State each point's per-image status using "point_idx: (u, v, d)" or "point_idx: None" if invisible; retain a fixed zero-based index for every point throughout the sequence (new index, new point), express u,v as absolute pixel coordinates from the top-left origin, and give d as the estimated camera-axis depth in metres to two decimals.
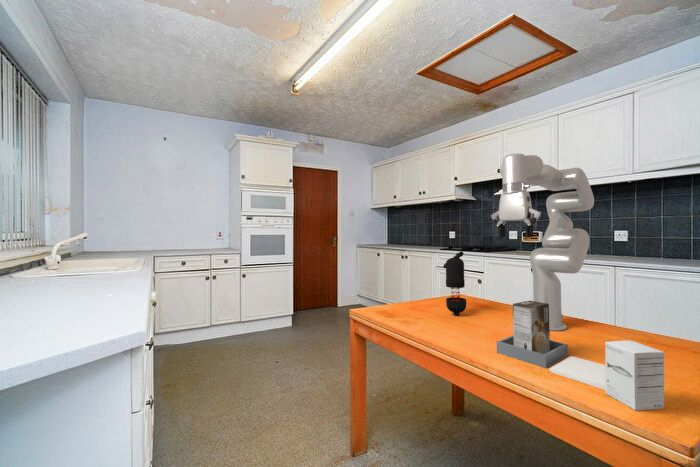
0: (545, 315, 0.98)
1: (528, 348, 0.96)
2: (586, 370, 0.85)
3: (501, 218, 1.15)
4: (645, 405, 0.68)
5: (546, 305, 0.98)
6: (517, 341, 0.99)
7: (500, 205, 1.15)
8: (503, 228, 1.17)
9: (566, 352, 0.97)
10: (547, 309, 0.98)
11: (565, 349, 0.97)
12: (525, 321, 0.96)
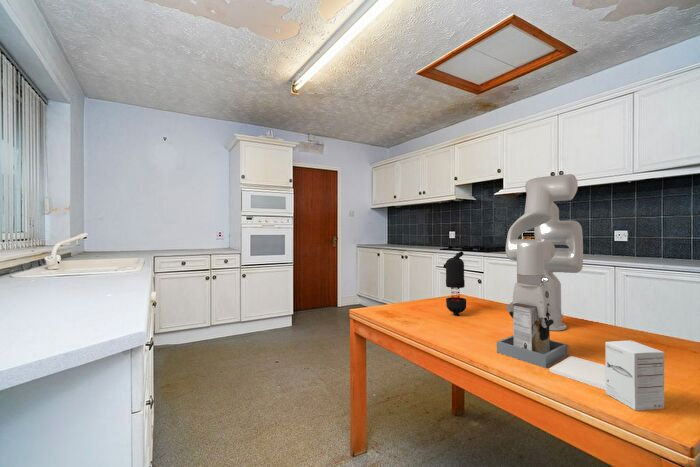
0: None
1: (528, 348, 0.96)
2: (586, 370, 0.85)
3: None
4: (645, 405, 0.68)
5: None
6: (517, 341, 0.99)
7: (514, 296, 1.01)
8: None
9: (566, 352, 0.97)
10: None
11: (565, 349, 0.97)
12: (525, 321, 0.96)
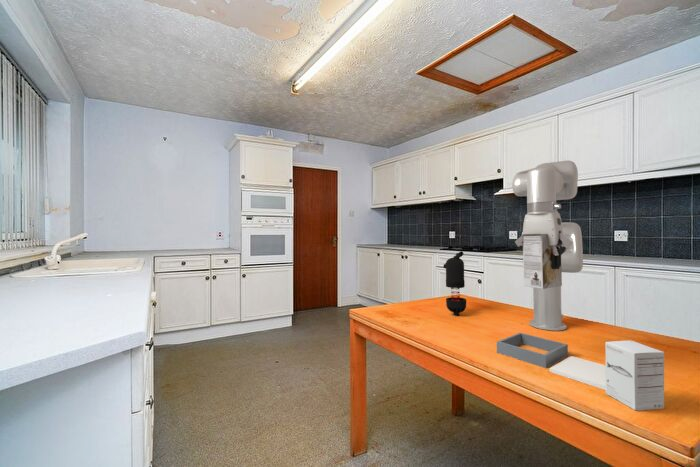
0: None
1: (539, 277, 0.92)
2: (586, 370, 0.85)
3: None
4: (645, 405, 0.68)
5: None
6: (527, 272, 0.95)
7: (524, 227, 0.98)
8: None
9: (566, 352, 0.97)
10: None
11: (565, 349, 0.97)
12: (535, 250, 0.93)
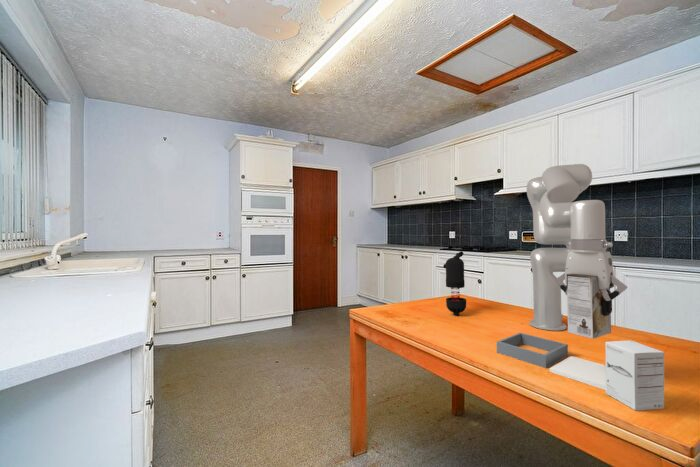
0: None
1: (587, 325, 0.81)
2: (586, 370, 0.85)
3: None
4: (645, 405, 0.68)
5: None
6: (573, 317, 0.84)
7: (567, 266, 0.87)
8: None
9: (566, 352, 0.97)
10: None
11: (565, 349, 0.97)
12: (583, 294, 0.82)
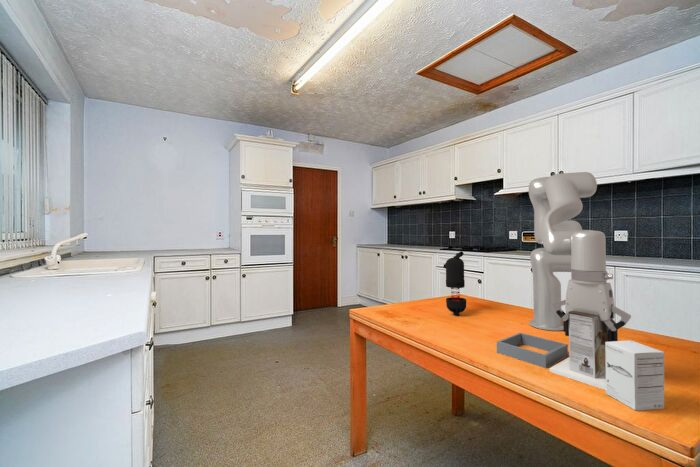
0: None
1: (590, 364, 0.81)
2: None
3: None
4: (645, 405, 0.68)
5: None
6: (574, 355, 0.84)
7: (568, 295, 0.87)
8: None
9: (566, 352, 0.97)
10: None
11: (565, 349, 0.97)
12: (585, 333, 0.82)
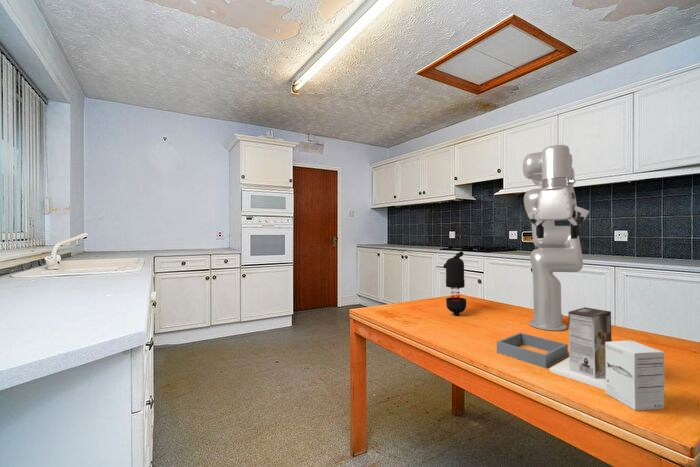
0: (608, 325, 0.83)
1: (590, 364, 0.81)
2: None
3: (540, 217, 1.03)
4: (645, 405, 0.68)
5: (608, 313, 0.84)
6: (575, 355, 0.84)
7: (539, 203, 1.03)
8: (542, 228, 1.05)
9: (566, 352, 0.97)
10: (609, 318, 0.84)
11: (565, 349, 0.97)
12: (585, 333, 0.82)
